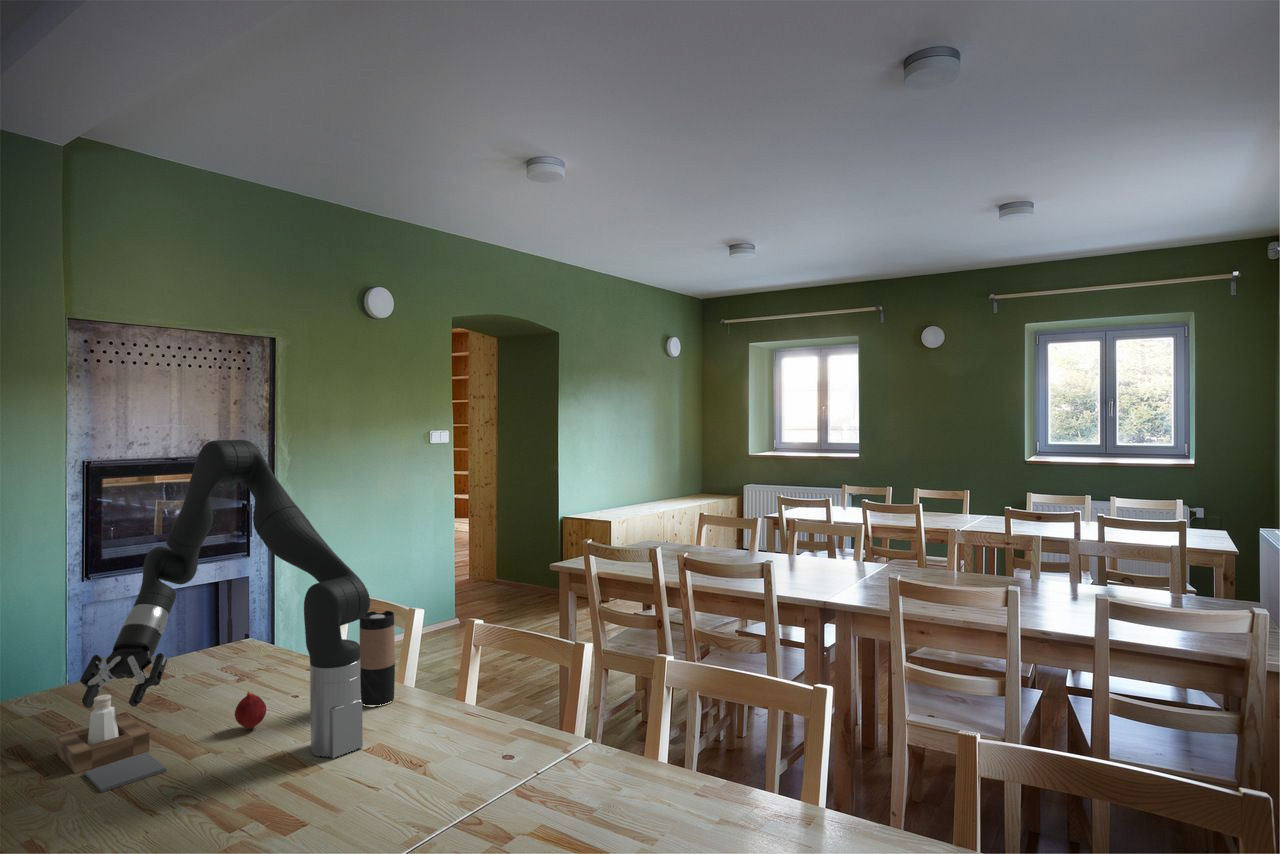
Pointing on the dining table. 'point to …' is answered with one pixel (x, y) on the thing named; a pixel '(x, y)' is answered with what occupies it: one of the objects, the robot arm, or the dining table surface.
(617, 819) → the dining table surface
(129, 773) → the rubber pad
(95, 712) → the pepper shaker
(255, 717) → the onion
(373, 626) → the travel mug
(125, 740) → the socket block
